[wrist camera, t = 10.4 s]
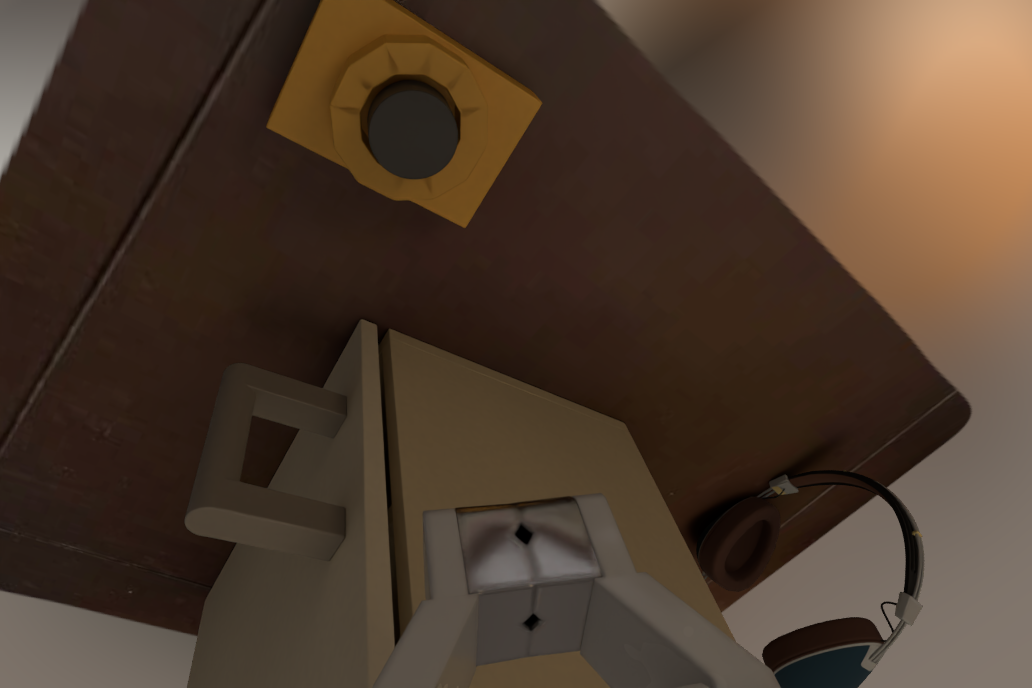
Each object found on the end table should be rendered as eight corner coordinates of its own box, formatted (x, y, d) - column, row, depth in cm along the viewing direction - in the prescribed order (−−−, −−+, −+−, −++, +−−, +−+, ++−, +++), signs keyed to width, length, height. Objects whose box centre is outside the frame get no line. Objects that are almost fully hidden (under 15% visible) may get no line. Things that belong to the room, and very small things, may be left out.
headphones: (648, 616, 58) (843, 450, 54) (742, 798, 46) (1006, 599, 41) (605, 593, 55) (809, 414, 51) (693, 782, 42) (975, 565, 38)
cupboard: (223, 601, 48) (134, 1090, 28) (389, 327, 37) (427, 795, 18) (440, 639, 56) (487, 1039, 36) (624, 422, 46) (825, 816, 26)
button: (352, 140, 28) (352, 153, 26) (392, 61, 26) (394, 71, 25) (427, 179, 29) (431, 194, 28) (468, 108, 28) (474, 119, 27)
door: (115, 585, 44) (-65, 1113, 25) (255, 278, 34) (132, 775, 15) (219, 602, 47) (129, 1085, 28) (377, 324, 37) (404, 788, 18)
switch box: (270, 113, 30) (260, 140, 27) (336, -37, 27) (334, -27, 24) (459, 211, 34) (470, 244, 31) (532, 91, 32) (552, 113, 28)
